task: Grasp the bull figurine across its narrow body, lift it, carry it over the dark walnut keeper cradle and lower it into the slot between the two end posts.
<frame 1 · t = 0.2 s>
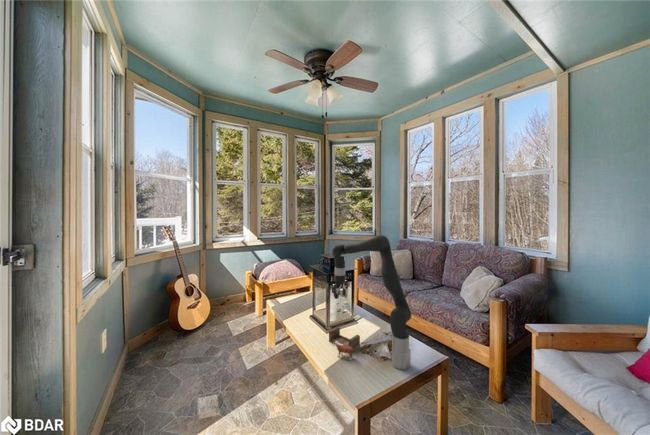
hand: (340, 297, 172), 29 cm above the table, fingers open, 8 cm apart
keeper cradle: (344, 343, 165), on the table
bull figurine: (343, 356, 151), on the table
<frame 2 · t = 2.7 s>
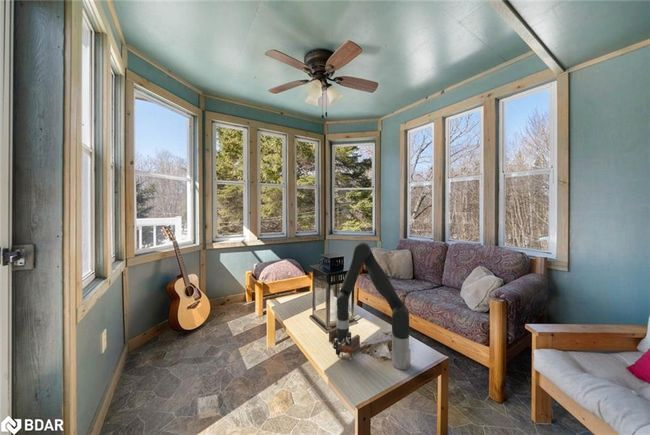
hand: (342, 351, 151), 3 cm above the table, fingers open, 8 cm apart
nothing on the table moved.
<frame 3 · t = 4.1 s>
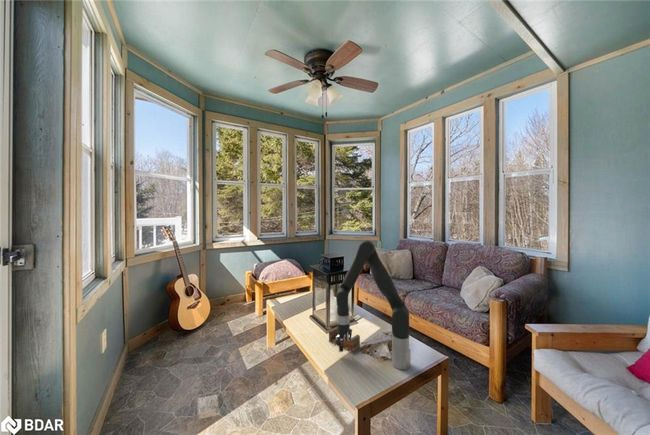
hand: (344, 349, 151), 5 cm above the table, fingers closed on bull figurine, 5 cm apart
bull figurine: (344, 352, 151), point 3 cm above the table, touching gripper
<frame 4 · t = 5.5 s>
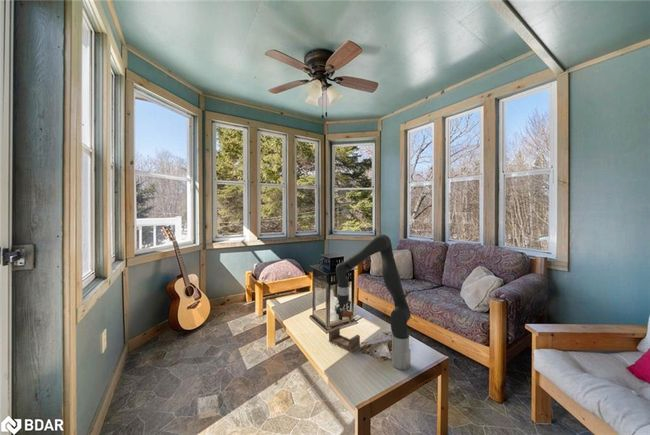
hand: (343, 318, 163), 18 cm above the table, fingers closed on bull figurine, 5 cm apart
bull figurine: (343, 321, 163), point 16 cm above the table, touching gripper
when the fingers open (4 cm above the table, at t = 7.6 s): bull figurine stays where it is, resting on keeper cradle.
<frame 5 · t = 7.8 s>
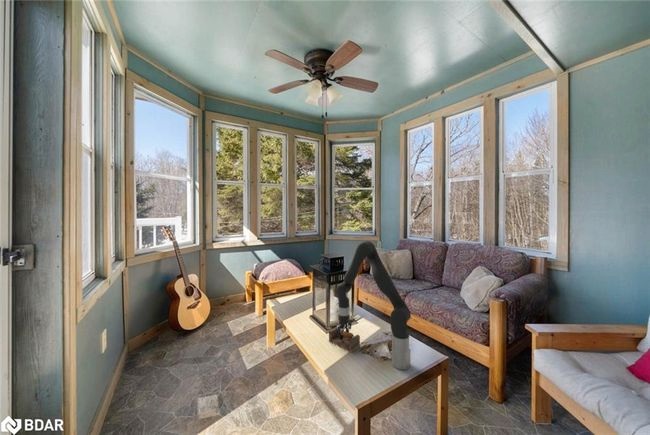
hand: (344, 337, 165), 4 cm above the table, fingers open, 6 cm apart
bull figurine: (344, 342, 165), point 1 cm above the table, touching keeper cradle
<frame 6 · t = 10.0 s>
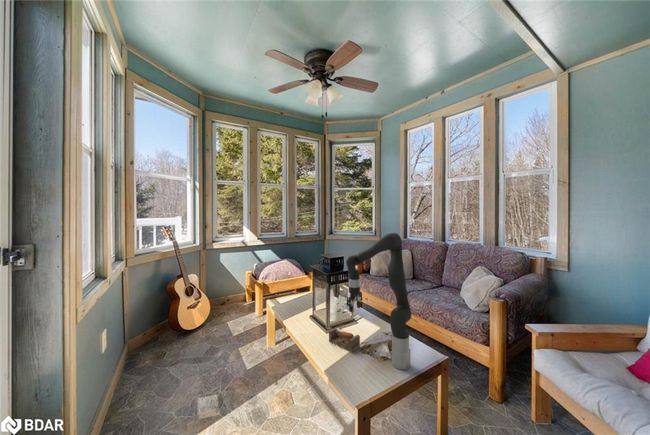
hand: (354, 309, 165), 22 cm above the table, fingers open, 8 cm apart
nothing on the table moved.
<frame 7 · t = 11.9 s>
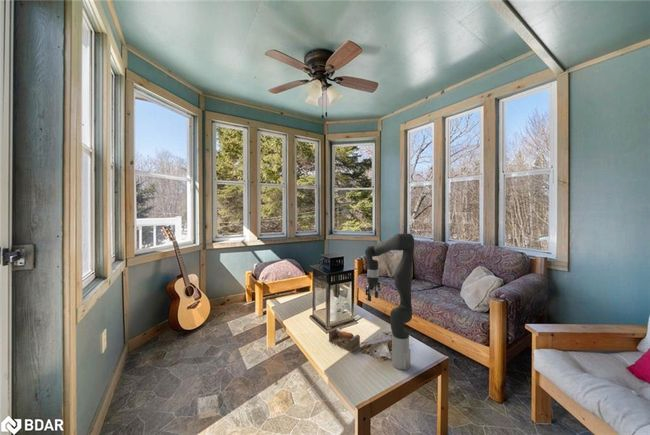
hand: (373, 299, 168), 28 cm above the table, fingers open, 8 cm apart
nothing on the table moved.
at the end: bull figurine inside the target area on the keeper cradle (0.1 cm from its centre), point 1.0 cm above the keeper cradle's base; bull figurine tilted 0°; the gripper is holding nothing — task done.
